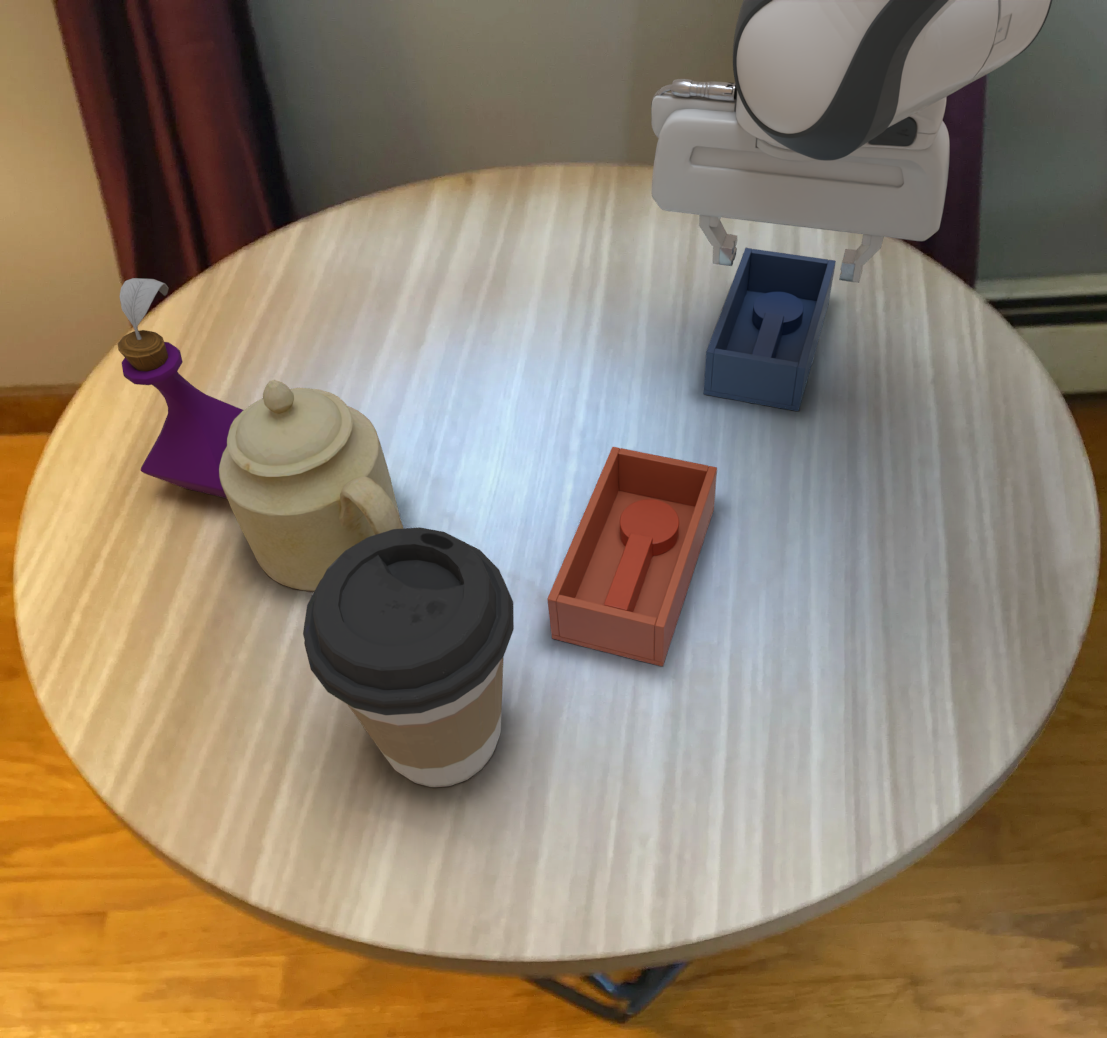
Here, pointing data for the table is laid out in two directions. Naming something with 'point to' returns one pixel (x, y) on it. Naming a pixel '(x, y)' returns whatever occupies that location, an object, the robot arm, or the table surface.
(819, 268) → the blue bin
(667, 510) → the red spoon
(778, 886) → the table surface
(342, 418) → the sugar bowl
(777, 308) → the blue spoon
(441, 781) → the coffee cup
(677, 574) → the red bin
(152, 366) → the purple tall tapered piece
